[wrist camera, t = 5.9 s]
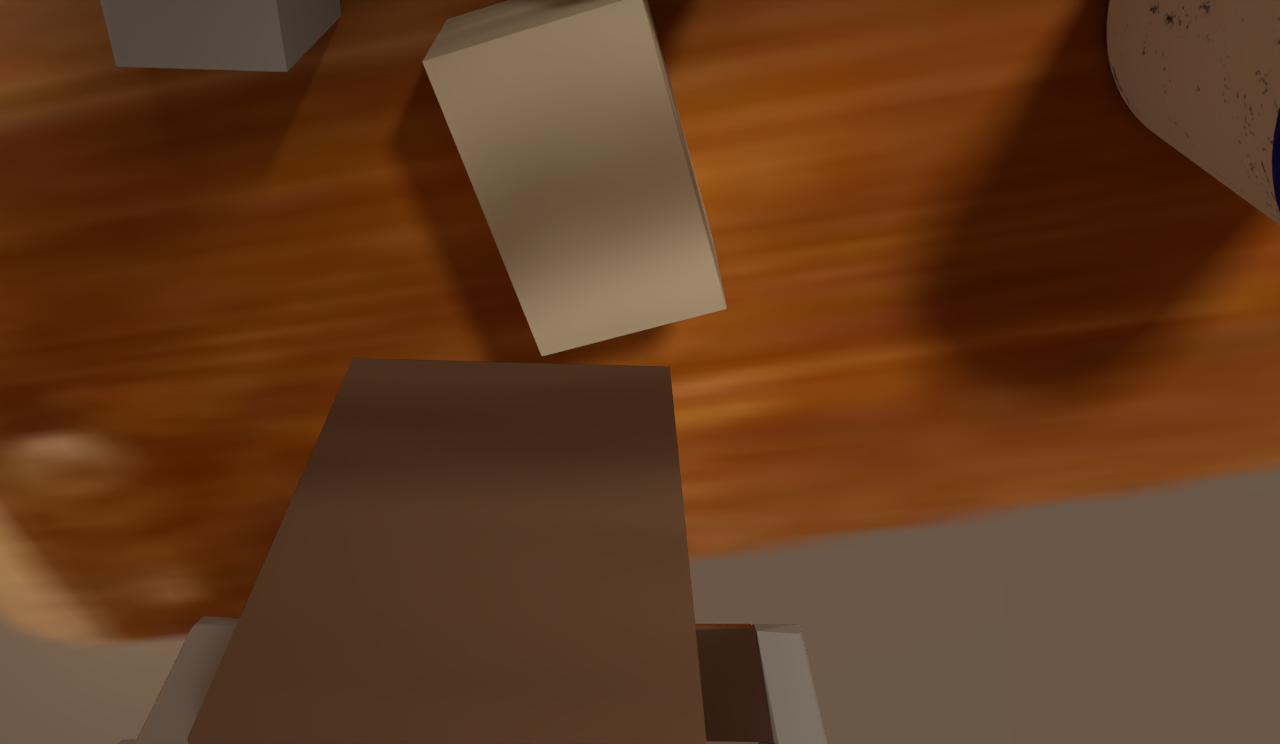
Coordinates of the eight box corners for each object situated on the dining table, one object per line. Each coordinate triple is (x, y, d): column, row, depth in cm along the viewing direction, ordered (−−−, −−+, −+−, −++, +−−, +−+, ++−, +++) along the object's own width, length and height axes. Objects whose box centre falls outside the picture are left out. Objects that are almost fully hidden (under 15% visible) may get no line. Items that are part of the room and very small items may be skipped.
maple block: (447, 17, 25) (422, 61, 22) (637, -42, 24) (640, -6, 21) (550, 284, 29) (541, 356, 26) (713, 240, 29) (726, 308, 25)
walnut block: (353, 358, 11) (188, 738, 7) (669, 366, 11) (706, 743, 7) (397, 721, 14) (303, 1138, 10) (643, 724, 14) (657, 1135, 10)
